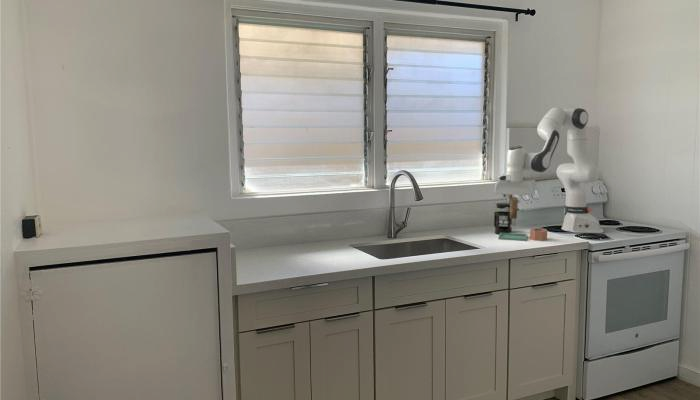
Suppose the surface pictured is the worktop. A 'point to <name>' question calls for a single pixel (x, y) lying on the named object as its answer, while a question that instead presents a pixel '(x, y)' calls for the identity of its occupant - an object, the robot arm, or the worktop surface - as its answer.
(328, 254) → the worktop surface
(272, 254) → the worktop surface
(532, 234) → the cup
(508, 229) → the french press
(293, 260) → the worktop surface
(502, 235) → the tray
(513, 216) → the dowel
